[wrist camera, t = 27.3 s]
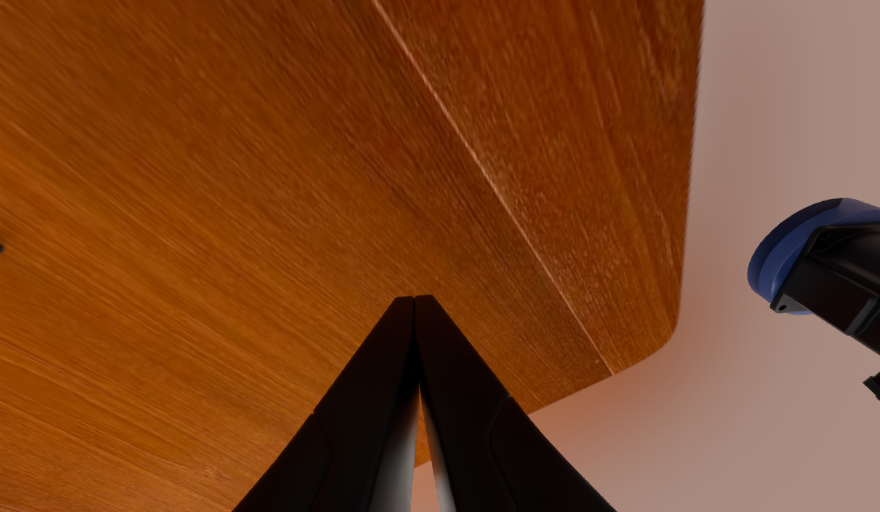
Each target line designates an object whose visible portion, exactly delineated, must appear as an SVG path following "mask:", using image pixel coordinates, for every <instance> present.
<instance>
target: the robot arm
mask: <svg viewBox="0 0 880 512" xmlns="http://www.w3.org/2000/svg"><path fill="white" fill-rule="evenodd" d="M770 309H772V310H773V311H775V312H776V313H788V312H801V311H810V312H812V313H813V314H815V315H816V316H818V317H819V318H821V319H822V320H824V321H825V322H827V323H828V324H830V325H831V326H833V327H834V328H836V329H838V330H839V331H840V332H842V333H844V334H845V335H848V336H851V337H852V338H854V339H855V340H857V341H858V342H860V343H862V344H863V345H865V346H866V347H868V348H869V349H871V350H872V351H874V352H875V353H877V354H878V355H880V221H877V222H863V223H849V224H834V225H822V226H819V227H817V228H816V229H814V230H813V231H812V233H811V234H810V236H809V238H808V239H807V241H806V243H805V245H804V246H803V248H802V250H801V252H800V253H799V255H798V257H797V259H796V260H795V262H794V264H793V266H792V267H791V269H790V271H789V273H788V274H787V276H786V278H785V280H784V281H783V283H782V285H781V287H780V289H779V290H778V292H777V294H776V296H775V297H774V299H773V301H772V303H771V304H770ZM419 384H420V391H419ZM863 384H864V385H865V386H867V387H868V388H869V389H870V390H871V391H872V392H873V393H874V394H875V395H876V398H877V399H878V400H880V372H879V373H877V374H876V375H875V376H870V377H869V378H867V379H866V380H865V381H864V382H863ZM419 394H421V401H422V408H423V414H424V420H425V425H426V431H427V437H428V443H429V449H430V455H431V461H432V467H433V472H434V478H435V484H436V490H437V496H438V502H439V508H440V512H617V511H616V510H615V509H614V508H613V507H612V506H611V505H610V504H609V503H608V502H607V501H606V500H605V499H604V498H603V497H602V496H601V495H600V494H599V493H598V492H597V491H596V490H595V489H594V488H593V487H592V486H591V485H590V484H589V483H588V482H587V480H585V478H584V477H582V475H581V474H580V473H579V472H578V471H577V470H576V469H575V468H574V467H573V466H572V465H571V464H570V463H569V462H568V461H567V460H566V459H565V458H564V457H563V456H562V455H561V453H560V452H559V451H558V450H557V449H556V448H555V447H554V446H553V445H552V444H551V443H550V442H549V441H548V440H547V439H546V437H545V436H544V435H543V434H542V433H541V432H540V430H539V429H538V428H537V427H536V426H535V424H534V423H533V422H532V421H531V420H530V418H529V417H528V416H527V415H526V414H525V412H524V411H523V410H522V408H521V407H520V406H519V405H518V403H517V402H516V401H515V399H514V398H513V397H510V393H509V392H508V391H507V389H506V388H505V387H504V386H503V384H502V383H501V382H500V381H499V379H498V378H497V377H496V375H495V374H494V373H493V372H492V370H491V369H490V368H489V366H488V365H487V364H486V363H485V361H484V360H483V359H482V357H481V356H480V355H479V354H478V352H477V351H476V350H475V349H474V347H473V346H472V345H471V343H470V342H469V341H468V340H467V338H466V337H465V336H464V334H463V333H462V332H461V331H460V329H459V328H458V327H457V325H456V324H455V323H454V322H453V320H452V319H451V318H450V317H449V315H448V314H447V313H446V311H445V310H444V309H443V308H442V306H441V305H440V304H439V302H438V301H437V300H436V299H435V297H434V296H433V295H419V296H416V297H415V298H414V297H412V296H405V297H396V298H395V299H394V300H393V302H392V303H391V305H390V306H389V307H388V309H387V310H386V311H385V313H384V314H383V316H382V317H381V318H380V320H379V321H378V322H377V324H376V325H375V326H374V328H373V329H372V331H371V332H370V333H369V335H368V336H367V337H366V339H365V340H364V342H363V343H362V344H361V346H360V347H359V348H358V350H357V351H356V353H355V354H354V355H353V357H352V358H351V359H350V361H349V362H348V364H347V365H346V366H345V368H344V369H343V370H342V372H341V373H340V375H339V376H338V377H337V379H336V380H335V381H334V383H333V384H332V385H331V387H330V388H329V390H328V391H327V392H326V394H325V395H324V396H323V398H322V399H321V401H320V402H319V403H318V405H317V406H316V407H315V409H314V410H313V413H314V414H310V415H309V417H308V418H307V419H306V421H305V422H304V424H303V425H302V426H301V428H300V429H299V430H298V432H297V433H296V434H295V436H294V437H293V438H292V440H291V441H290V442H289V443H288V445H287V446H286V447H285V449H284V450H283V451H282V453H281V454H280V455H279V457H278V458H277V459H276V460H275V462H274V463H273V464H272V465H271V466H270V467H269V469H268V470H267V471H266V472H265V473H264V475H263V476H262V477H261V478H260V479H259V480H258V482H257V483H256V484H255V485H254V486H253V488H252V489H251V490H250V491H249V492H248V493H247V495H246V496H245V497H244V498H243V499H242V500H241V501H240V503H239V504H238V505H237V506H236V507H235V508H234V509H233V511H232V512H410V506H411V493H412V482H413V470H414V458H415V446H416V434H417V422H418V410H419Z"/></svg>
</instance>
